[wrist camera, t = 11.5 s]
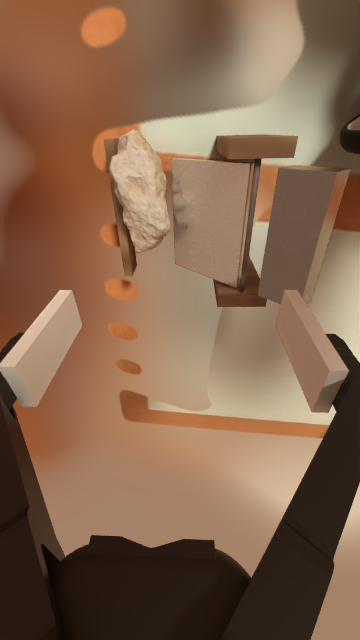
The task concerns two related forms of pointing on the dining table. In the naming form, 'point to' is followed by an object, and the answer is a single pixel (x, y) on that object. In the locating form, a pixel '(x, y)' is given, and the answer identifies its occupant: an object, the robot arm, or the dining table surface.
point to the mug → (351, 136)
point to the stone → (140, 190)
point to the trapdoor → (232, 215)
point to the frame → (256, 150)
